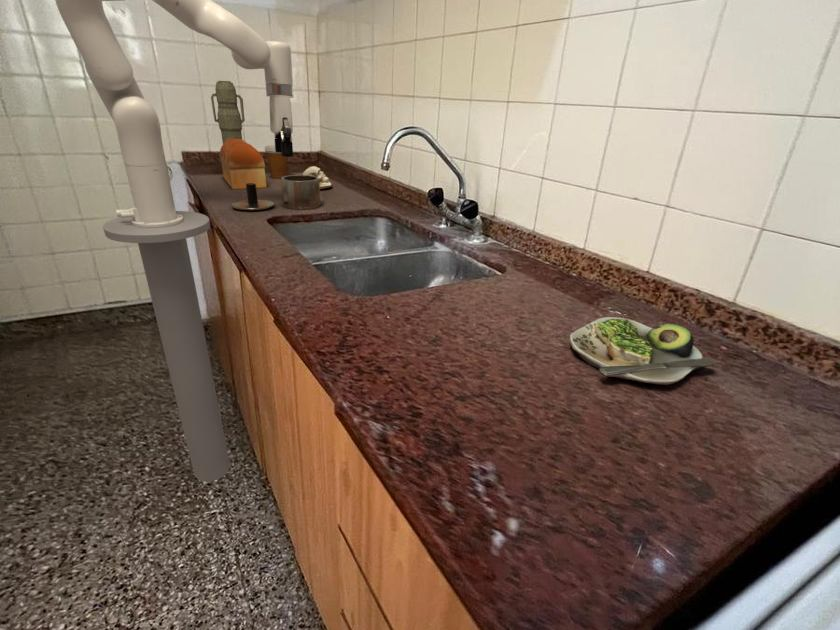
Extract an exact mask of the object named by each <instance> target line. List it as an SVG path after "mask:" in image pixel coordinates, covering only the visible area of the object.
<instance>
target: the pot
mask: <svg viewBox="0 0 840 630" xmlns="http://www.w3.org/2000/svg"><path fill="white" fill-rule="evenodd" d="M280 183H281V191H282V192H281V193H282V203H283V206H284V207H285V208H288V209H291V210H310V209H311V210H312V209H316V208H320V206H321V189H320V186H319V178H318V177H315V176H309V175H303V174H293V175H291V174H290V175H287V176H284V177H282V178H280Z"/></svg>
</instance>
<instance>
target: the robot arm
mask: <svg viewBox="0 0 840 630" xmlns="http://www.w3.org/2000/svg"><path fill="white" fill-rule="evenodd" d="M54 1H55V4H56V7H57V10H58V12H59V15H60V17H61V19H62V21H63V23H64V25H65V27H66V29H67V31H68V32H69V35H70V37H71V38H72V39H71V40H72V41H73V42H74V44H75V46H76V48H77V49H78V53H79V54H80V56H81V58H82V60H83V62H84V68H85V71H86V73H87V76H88V77H89V79H90V81H91V83H92V85H93V86H94V88H95V90H96V92H97V94H98V97H99V98H100V100H101V102H102V103H103V105H104V107H105V109H106V110H107V113H108V114H109V116H110V117H111V119H112V121H113V122H114V126H115V129H116V133H117V138H118V142H119V149H120V152H121V156H122V161H123V165H124V168H125V173H126V177H127V180H128V185H129V189H130V193H131V197H132V202H133V207H129V209H125V208H123V209H116V210H115V211H116V212H115V213H116V217H117V218H119V217H122V218H128V217H132V218H133V219H132V220H131V222H132V225H134V226H136V227H141V228H160V227H168V226H173V225H177V224H180V223H181V222H183V221H184V219H183V216H182V215H180V214H176V211H177V210H176V206H175V201H174V196H173V190H172V186H171V180H170V176H169V175H170V174H169V170H168V166H167V160H166V156H165V150H164V144H163V138H162V131H161V130H162V129H161V123H160V119H159V115H158V113H157V111H156V110H155V108H154V107H153V105H152V104H151V103H149V101H147V100H146V99H145V97H144V94H143V93H142V91H141V89H140V87H139V84H138V83H137V80H136V79H135V76H134V69H133V67H132V63H131V62H130V60H129V59H128V57H127V56H126V54H125V52H124V50H123V48H122V47H121V44H120V43H119V40H118V38H117V36H116V35H115V33H114V31H113V28H112V26H111V24H110V22H109V19H108V17H107V15H106V13H105V10H104V5H103V2H118V1H119V2H120V1H121V2H122V1H124V0H54ZM152 2H154V4H157V5H158V6H159V7H161V8H162V9H164V10H165V11H166V12H168V13H169V14H170V15H172V16H173V17H174V18H175V19H176V20H178V21H179V22H181V23H182V24H183V25H184V26H186V27H187V28H189V29H190V30H192V31H194V32H196V33H198V34H200V35H204V36H207V37H208V38H211V39H212V40H215V41H217V42H218V43H220V44H221V45H223V46H224V47H226V48H227V49H229V50H230V51H231V52H230V53H231V57H232V59H233V61H234V63H236V64H237V66H239V67H240V68H243V69H244V70H262V69H263V70H264V71H263V72H264V82H265V95H266V97H269V101H268V103H269V127H270V129H269V130H270V132H271V133H273V134H274V145H275V151H276V152H282V156H283V157H288V158H290V157H291V158H293V156H294V149H293V148H294V147H293V145H294V144H293V137H292V134H293V128H294V127H293V113H292V103H291V99H294V81H293V64H292V61H293V60H292V50H291V49H292V48H291V46H290V45H289V43H287V42H285V41H278V40H265V39H264V38H263V37H262V36H261V35H260V34H259V33H257V32H256V31H255V30H254V29H252V28H251V27H250V26H249V25H248V24H246V23H245V22H244V21H243V20H241V18H240V17H237V16H236V15H234V14H233V13H232V12H230V11H229V10H227V9H226V8H223V7H222V6H221V5H219V3H217V2H215V1H214V0H152Z"/></svg>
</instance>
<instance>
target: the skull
mask: <svg viewBox="0 0 840 630" xmlns="http://www.w3.org/2000/svg"><path fill="white" fill-rule="evenodd" d="M302 175H309V176H315V177H318V178H319V186H320V190H324V189H328V188H331V187H333V184H332V183H331V182H330V179H329V177H328V176H326V174H325V172H324V171H321V168H320V167H317V166H314V165H313V166H308V168H306V169H304V171H303V172H302Z"/></svg>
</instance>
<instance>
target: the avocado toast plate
mask: <svg viewBox="0 0 840 630" xmlns="http://www.w3.org/2000/svg"><path fill="white" fill-rule="evenodd" d="M568 340H569V343H570V345H571V348H572V349H573V350H574V351H575V352H576V353H577V354H578V355H579V356H580V358H581V359H582V360H583V361H585V362H586V363H587V364H589V365H590V366H592V367H594V368H597V369H598V371H599V373H600V374H601V375H602V376H605V377H608V378H609V377H610V378H611V377H613V378H614V377H615V378H617V379H621V380H626V381H627V380H628V381H633V382H634V381H635V382H639V383H646V384H654V385H662V386H668V385H672V384H675V383H677V382H679V381H681V380H683V379H685V377H686V376H688V375H689V374H690V373H692V372H693V371H695V370H698V369H702V368H706V367H711V366H713V365H716V364H717V362H716V361H717V360H716V359H715V358H713V357H704V356H703V354H702V352H701V351H700V350H699V349H698V347H696V346H694V336H693V334H692V332H691V330H690V329H688V327H687V328H686V327H685V326H682V325H678V324H675V323H663V324H659V325H658V327H650V326H648V325H645V324H643V323H640V322H639V321H636V320H633V319H630V318H624V317H619V316H616V317H615V316H612V317H611V316H607V317H605V316H604V317H600V318H597V319H596V320H593V321H591V322H590V323H588V324H586V325H584V326H582V327H581V328H578V329H575V331H573V332H572V333H570V335H569V339H568Z"/></svg>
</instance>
